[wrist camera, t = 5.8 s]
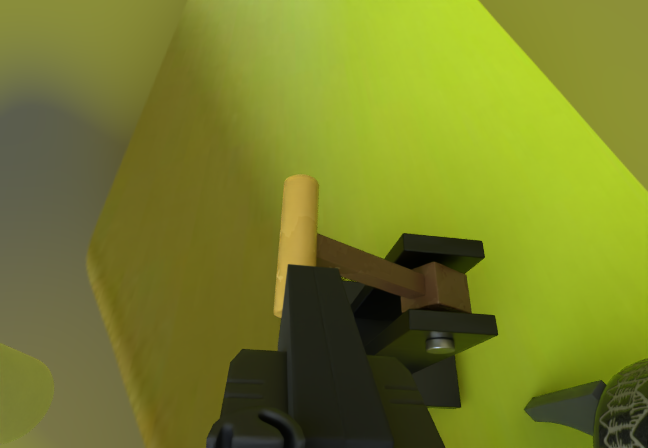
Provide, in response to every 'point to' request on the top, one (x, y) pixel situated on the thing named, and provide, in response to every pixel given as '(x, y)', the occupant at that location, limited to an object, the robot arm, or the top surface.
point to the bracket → (422, 319)
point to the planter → (602, 408)
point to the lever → (358, 259)
